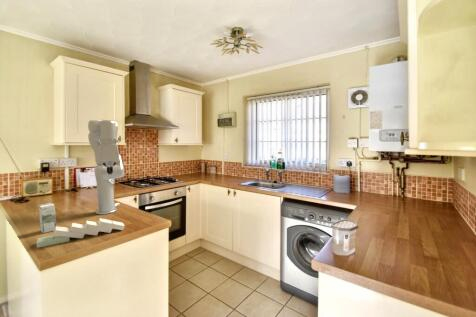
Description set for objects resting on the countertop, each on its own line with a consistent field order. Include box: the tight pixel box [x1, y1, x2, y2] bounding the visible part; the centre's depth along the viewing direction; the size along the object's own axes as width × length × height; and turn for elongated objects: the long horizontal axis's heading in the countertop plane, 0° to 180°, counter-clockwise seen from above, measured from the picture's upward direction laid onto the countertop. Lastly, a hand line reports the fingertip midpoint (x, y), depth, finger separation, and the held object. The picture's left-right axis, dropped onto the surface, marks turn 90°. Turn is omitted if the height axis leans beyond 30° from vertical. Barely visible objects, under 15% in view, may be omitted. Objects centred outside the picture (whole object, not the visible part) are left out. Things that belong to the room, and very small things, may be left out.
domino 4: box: [97, 217, 125, 231], centre depth 123 cm, size 2×6×12 cm
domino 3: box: [84, 220, 113, 234], centre depth 120 cm, size 2×6×12 cm
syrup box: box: [38, 202, 57, 234], centre depth 123 cm, size 6×6×14 cm
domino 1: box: [53, 225, 85, 239], centre depth 113 cm, size 2×6×12 cm
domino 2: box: [69, 222, 100, 236], centre depth 117 cm, size 2×6×12 cm
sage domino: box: [36, 234, 71, 249], centre depth 110 cm, size 2×6×12 cm
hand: (110, 173), depth 133 cm, fingers closed
